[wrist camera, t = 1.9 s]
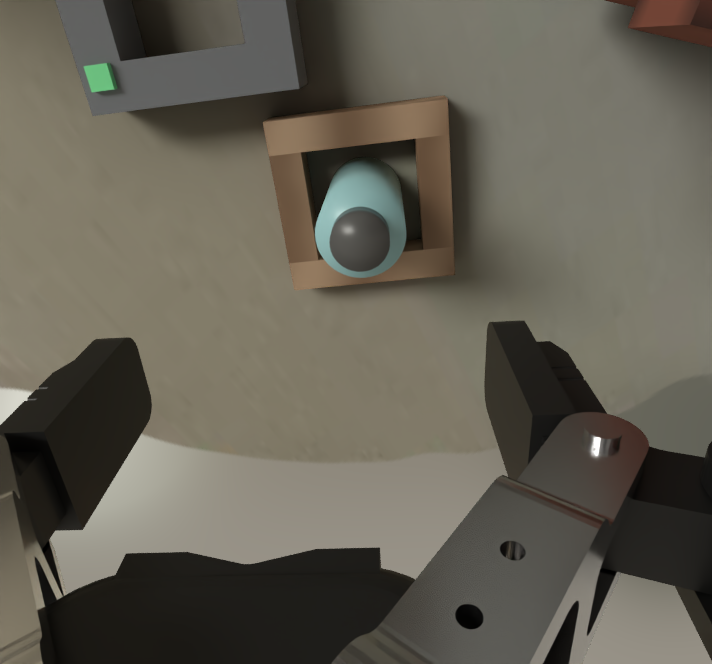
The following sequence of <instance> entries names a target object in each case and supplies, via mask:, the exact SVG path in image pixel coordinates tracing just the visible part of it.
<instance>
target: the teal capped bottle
mask: <svg viewBox="0 0 712 664" xmlns="http://www.w3.org/2000/svg"><path fill="white" fill-rule="evenodd" d="M315 239H316V244H317V247H318V250H319V252H320V254H321V256H322V257H323V259H324V260H325V261H326V262H327V264H328V265H329V266H331V267H332V268H333V269H335V270H336V271H338V272H340V273H342V274H344V275H347V276H350V277H356V278H366V277H372V276H376V275H378V274H381V273H383V272H384V271H386V270H388V269H389V268H390V267H392V266H393V265H394V264H395V263H396V261H397V260H398V259H399V257H400V256H401V254H402V252H403V249H404V246H405V243H406V224H405V216H404V208H403V199H402V191H401V185H400V181H399V179H398V177H397V175H396V173H395V172H394V171H393V169H392V168H391V167H390V166H389V165H387V164H386V163H384V162H383V161H381V160H378V159H375V158H371V157H360V158H355V159H352V160H350V161H348V162H346V163H345V164H343V165H342V166H341V167H340V168H339V169H338V170H337V172H336V173H335V175H334V177H333V179H332V181H331V184H330V186H329V189H328V192H327V195H326V197H325V200H324V203H323V205H322V208H321V211H320V214H319V216H318V219H317V222H316V227H315Z"/></svg>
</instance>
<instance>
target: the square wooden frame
mask: <svg viewBox="0 0 712 664" xmlns="http://www.w3.org/2000/svg"><path fill="white" fill-rule="evenodd" d="M263 127H264V132H265V137H266V143H267V148H268V153H269V158H270V164H271V169H272V174H273V180H274V185H275V190H276V195H277V201H278V206H279V211H280V216H281V222H282V227H283V232H284V238H285V243H286V248H287V253H288V259H289V264H290V269H291V274H292V280H293V285H294V290H302V289H312V288H323V287H333V286H344V285H354V284H364V283H375V282H385V281H396V280H406V279H416V278H427V277H437V276H448V275H455V263H454V239H453V214H452V190H451V166H450V141H449V117H448V99H447V98H446V97H445V96H436V97H429V98H421V99H413V100H405V101H397V102H389V103H381V104H374V105H366V106H358V107H350V108H342V109H334V110H326V111H319V112H311V113H303V114H295V115H287V116H279V117H271V118H268V119H267V120H265V121H264V122H263ZM408 139H415V153H416V168H417V182H418V196H419V211H420V225H421V239H418V240H409V241H406V243H405V246H404V249H403V252H402V254H401V256H400V257H399V259H398V260H397V261H396V263H395V264H394V265H393V266H392V267H390V268H389V269H388V270H386V271H384V272H383V273H381V274H378V275H376V276H372V277H366V278H356V277H350V276H347V275H344V274H342V273H340V272H338V271H336V270H335V269H333V268H332V267H331V266H329V265H328V264H327V262H326V261H325V260H324V259H323V257H322V256H321V254H320V252H319V250H318V247H317V244H316V239H315V227H316V222H317V218H316V211H315V205H314V199H313V192H312V186H311V180H310V174H309V167H308V161H307V155H306V152H309V151H317V150H325V149H334V148H342V147H350V146H359V145H367V144H375V143H383V142H392V141H400V140H408Z"/></svg>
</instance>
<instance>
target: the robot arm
mask: <svg viewBox="0 0 712 664" xmlns="http://www.w3.org/2000/svg"><path fill="white" fill-rule="evenodd" d="M583 378H584V377H583V376H582V374H581V373H580V371H579V370H578V369H576V365H575V364H574V362H573V360H572V359H571V357H570V356H569V354H568V353H567V352H566V351H564V350H563V349H561V348H559V347H558V346H556V345H555V344H553V343H552V342H550V341H545V342H536V340H535V338H534V337H533V335H532V333H531V331H530V330H529V328H528V326H527V324H526V323H525V321H503V322H490V323H489V324H488V329H487V343H486V363H485V401H486V407H487V411H488V415H489V418H490V421H491V424H492V427H493V430H494V433H495V436H496V440H497V443H498V446H499V449H500V452H501V455H502V458H503V461H504V465H505V468H506V471H507V474H508V477H507V476H504V475H502V476H500V477H498V478H497V479H496V480H495V481H494V482H493V483H492V484H491V486H490V487H489V488H488V489H487V491H486V492H485V493H484V494H483V496H482V497H481V498H480V500H479V501H478V502H477V503H476V504H475V506H474V507H473V508H472V510H471V511H470V512H469V513H468V515H467V516H466V517H465V518H464V520H463V521H462V522H461V523H460V525H459V526H458V527H457V528H456V530H455V531H454V532H453V533H452V535H451V536H450V537H449V538H448V540H447V541H446V542H445V543H444V545H443V546H442V547H441V548H440V550H439V551H438V552H437V554H436V555H435V556H434V557H433V558H432V560H431V561H430V562H429V563H428V565H427V566H426V567H425V569H424V570H423V571H422V572H421V574H420V575H419V576H418V578H417V579H416V580H415V579H413V578H411V577H409V576H406V575H403V574H400V573H397V572H394V571H391V570H386V569H382V568H381V560H380V548H344V549H315V550H311V551H306V552H302V553H298V554H294V555H289V556H285V557H281V558H276V559H272V560H268V561H264V562H260V563H255V564H239V563H235V562H230V561H226V560H221V559H217V558H212V557H207V556H202V555H198V554H193V553H189V552H174V553H132V554H126V555H125V557H124V559H123V561H122V563H121V565H120V567H119V569H118V571H117V573H116V575H114V576H111V577H107V578H104V579H101V580H98V581H95V582H92V583H90V584H88V585H85V586H83V587H81V588H78V589H76V590H74V591H72V592H71V593H69V594H67V592H66V589H65V585H64V582H63V578H62V574H61V571H60V567H59V564H58V560H57V556H56V553H55V550H54V547H53V545H52V543H51V541H50V537H51V536H52V534H53V533H54V531H55V530H83V528H84V527H85V525H86V523H87V522H88V520H89V518H90V517H91V515H92V513H93V512H94V510H95V509H96V507H97V505H98V504H99V502H100V500H101V499H102V497H103V495H104V494H105V492H106V490H107V489H108V487H109V486H110V484H111V482H112V481H113V479H114V477H115V476H116V474H117V472H118V471H119V469H120V468H121V466H122V464H123V463H124V461H125V459H126V458H127V456H128V454H129V453H130V451H131V450H132V448H133V446H134V445H135V443H136V441H137V440H138V438H139V436H140V435H141V433H142V432H143V430H144V428H145V427H146V425H147V423H148V421H149V419H150V415H151V408H152V403H151V395H150V391H149V388H148V384H147V381H146V377H145V373H144V370H143V366H142V363H141V359H140V355H139V352H138V348H137V346H136V343H135V342H134V340H133V339H131V338H108V339H96V340H94V341H93V342H92V343H91V344H90V345H89V346H88V347H87V348H86V349H85V350H84V351H83V352H82V353H81V354H80V355H79V356H78V357H77V358H76V359H75V360H74V361H72V362H71V363H69V364H67V365H66V366H64V367H62V368H60V369H59V370H57V371H55V372H54V373H52V374H51V375H50V376H49V377H48V378H47V379H46V380H45V381H44V382H43V383H42V384H41V385H40V386H39V390H35V391H34V392H33V393H32V394H31V395H30V396H29V397H28V401H24V402H23V403H22V404H21V405H20V406H19V407H18V408H17V409H16V410H15V411H14V412H13V413H12V414H11V415H10V416H9V417H8V418H7V419H6V420H5V421H4V422H3V423H2V424H1V425H0V664H582V663H583V661H584V658H585V655H586V653H587V650H588V648H589V646H590V643H591V641H592V639H593V636H594V634H595V632H596V629H597V627H598V625H599V623H600V620H601V618H602V616H603V613H604V611H605V609H606V606H607V604H608V602H609V600H610V597H611V595H612V593H613V591H614V588H615V586H616V584H617V581H618V579H619V576H620V574H621V573H624V574H628V575H633V576H637V577H641V578H645V579H649V580H653V581H657V582H661V583H665V584H669V585H673V586H675V587H676V589H677V591H678V593H679V595H680V597H681V599H682V601H683V603H684V605H685V607H686V610H687V611H688V614H689V616H690V618H691V620H692V621H693V624H694V626H695V627H696V630H697V632H698V634H699V636H700V638H701V640H702V642H703V644H704V646H705V648H706V650H707V652H708V654H709V656H710V658H711V660H712V442H711V443H710V444H709V446H708V449H707V453H706V456H705V458H703V457H698V456H692V455H686V454H680V453H674V452H668V451H663V450H659V449H656V448H652V447H649V444H648V440H647V438H646V436H645V435H644V434H643V432H642V431H641V430H640V429H639V428H637V427H636V426H635V425H633V424H632V423H630V422H628V421H626V420H624V419H622V418H619V417H616V416H613V415H609V414H607V413H606V411H605V410H604V408H603V407H602V405H601V404H600V402H599V400H598V399H597V397H596V396H595V394H594V393H593V391H592V390H591V388H590V387H589V385H588V384H587V382H586V380H584V379H583Z"/></svg>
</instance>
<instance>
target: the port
mask: <svg viewBox="0 0 712 664" xmlns="http://www.w3.org/2000/svg"><path fill="white" fill-rule="evenodd" d="M55 1H56V4H57V7H58V10H59V13H60V17H61V20H62V23H63V26H64V29H65V32H66V35H67V38H68V41H69V44H70V47H71V51H72V54H73V57H74V60H75V63H76V66H77V69H78V72H79V75H80V78H81V81H82V85H83V88H84V91H85V94H86V97H87V100H88V103H89V106H90V109H91V112H92V115H93V116H96V115H103V114H111V113H119V112H126V111H134V110H141V109H149V108H156V107H164V106H172V105H179V104H187V103H194V102H202V101H210V100H217V99H225V98H232V97H240V96H248V95H255V94H263V93H270V92H278V91H285V90H293V89H300V88H301V87H303V86H305V85H307V84H308V82H307V75H306V68H305V62H304V55H303V48H302V42H301V35H300V28H299V21H298V15H297V8H296V1H295V0H237V4H238V9H239V14H240V20H241V25H242V30H243V35H244V40H245V44H239V45H232V46H225V47H218V48H211V49H204V50H197V51H190V52H183V53H176V54H168V55H161V56H154V57H146V53H145V50H144V46H143V42H142V39H141V35H140V31H139V27H138V24H137V20H136V16H135V12H134V9H133V5H132V1H131V0H55Z"/></svg>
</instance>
